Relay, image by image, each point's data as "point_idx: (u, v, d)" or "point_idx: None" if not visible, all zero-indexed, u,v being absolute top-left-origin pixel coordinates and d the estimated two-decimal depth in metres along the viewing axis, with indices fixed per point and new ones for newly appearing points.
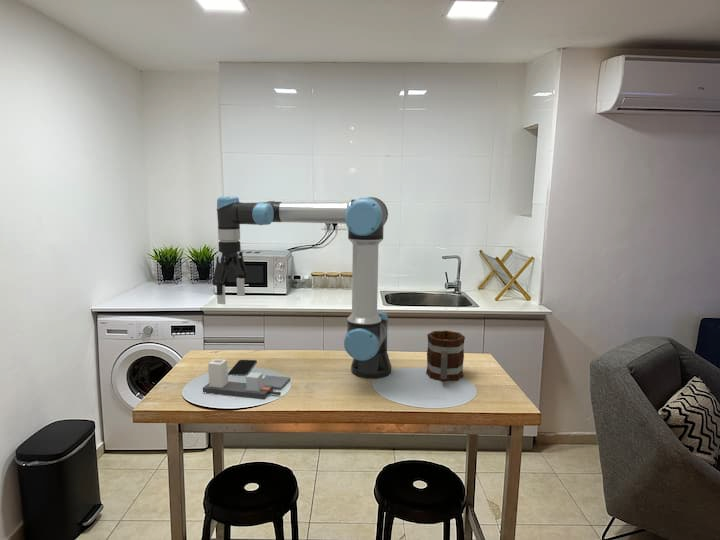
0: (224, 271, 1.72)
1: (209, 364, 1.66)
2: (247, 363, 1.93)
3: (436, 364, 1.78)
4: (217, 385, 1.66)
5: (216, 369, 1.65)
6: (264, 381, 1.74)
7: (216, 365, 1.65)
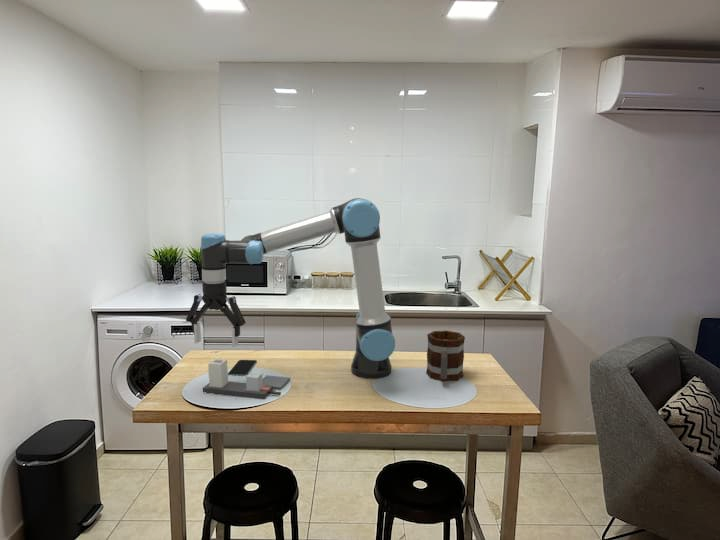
0: None
1: (209, 364, 1.66)
2: (247, 363, 1.93)
3: (436, 364, 1.78)
4: (217, 385, 1.66)
5: (216, 369, 1.65)
6: (264, 381, 1.74)
7: (216, 365, 1.65)
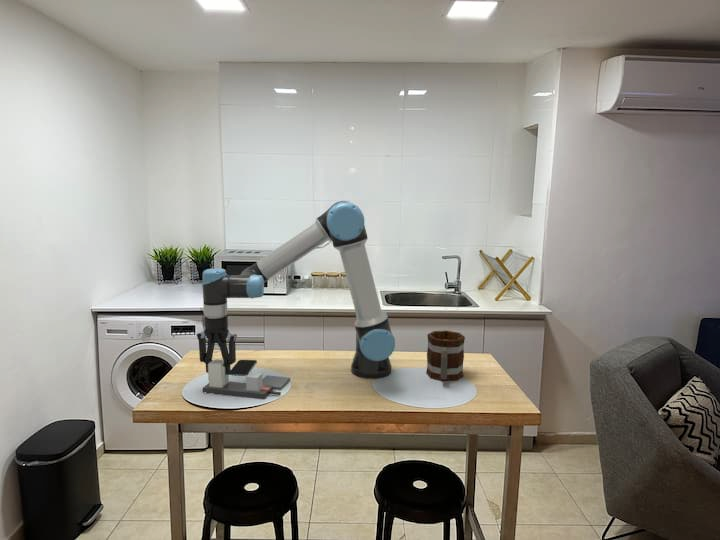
0: None
1: (209, 364, 1.66)
2: (246, 363, 1.93)
3: (436, 364, 1.78)
4: (217, 385, 1.66)
5: (216, 369, 1.65)
6: (264, 381, 1.74)
7: (216, 365, 1.65)
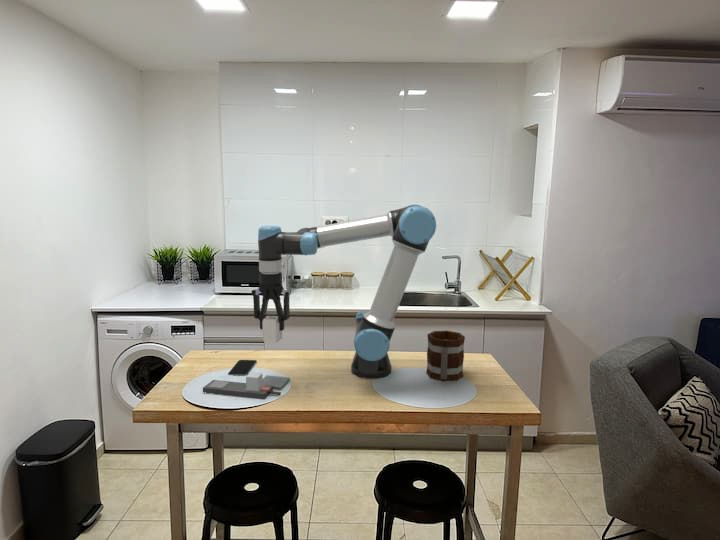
0: None
1: (264, 320, 1.68)
2: (246, 363, 1.93)
3: (436, 364, 1.78)
4: (272, 341, 1.69)
5: (271, 325, 1.68)
6: (264, 381, 1.74)
7: (271, 320, 1.68)
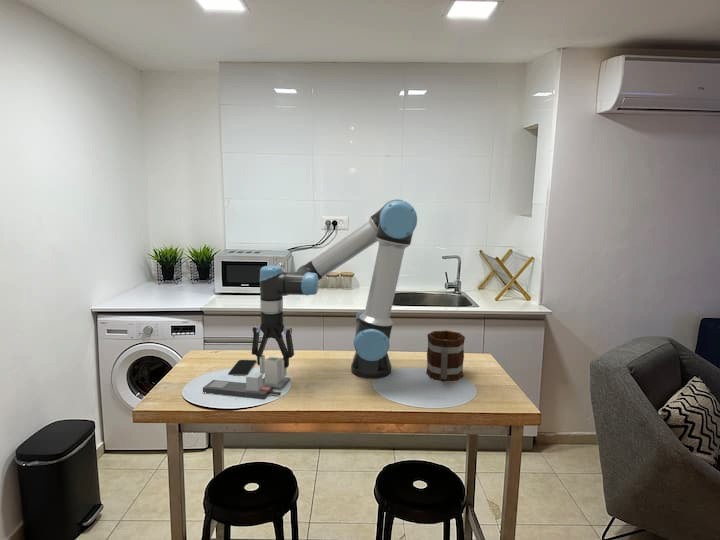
0: None
1: (265, 362, 1.71)
2: (246, 363, 1.93)
3: (436, 364, 1.78)
4: (273, 382, 1.72)
5: (272, 366, 1.71)
6: (264, 381, 1.74)
7: (272, 362, 1.71)
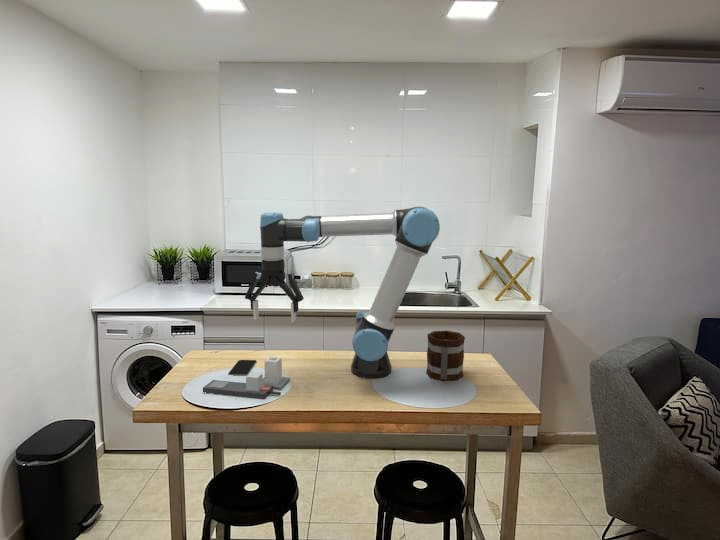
0: (258, 288, 1.70)
1: (265, 362, 1.71)
2: (246, 363, 1.93)
3: (436, 364, 1.78)
4: (273, 382, 1.72)
5: (272, 366, 1.71)
6: (264, 381, 1.74)
7: (272, 362, 1.71)
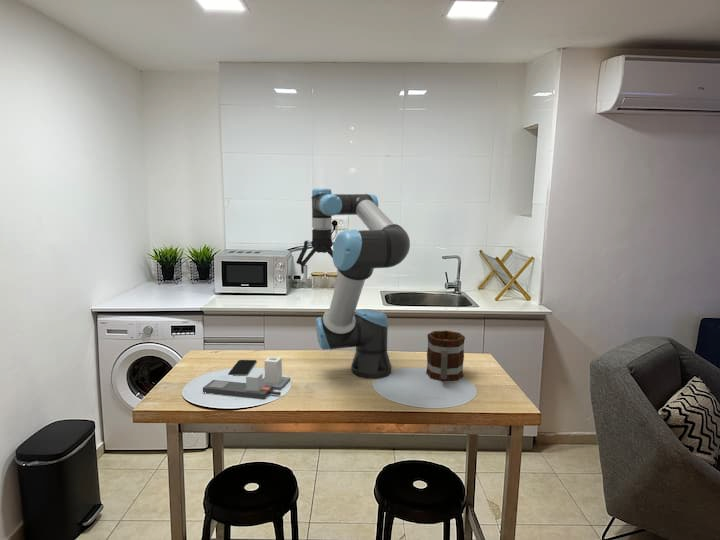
0: (308, 254, 1.95)
1: (265, 362, 1.71)
2: (246, 363, 1.93)
3: (436, 364, 1.78)
4: (273, 382, 1.72)
5: (272, 366, 1.71)
6: (264, 381, 1.74)
7: (272, 362, 1.71)
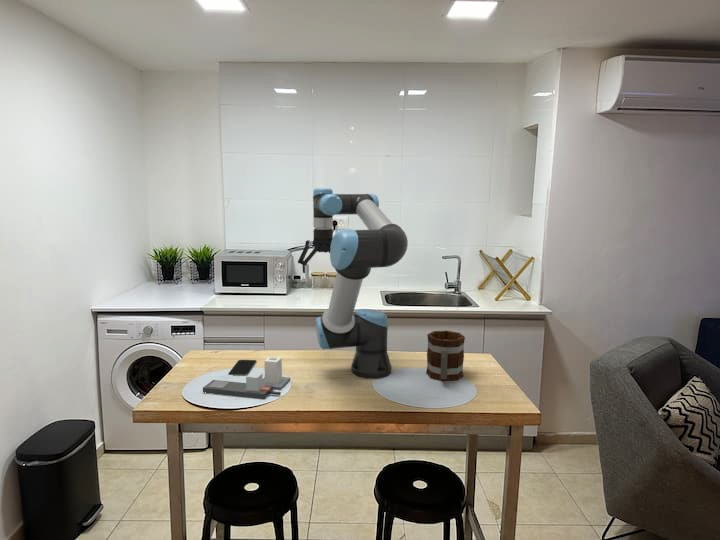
0: (310, 253, 1.96)
1: (265, 362, 1.71)
2: (246, 363, 1.93)
3: (436, 364, 1.78)
4: (273, 382, 1.72)
5: (272, 366, 1.71)
6: (264, 381, 1.74)
7: (272, 362, 1.71)
